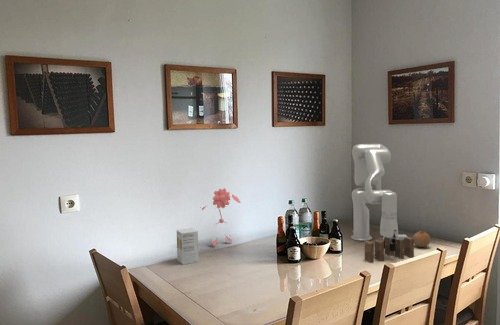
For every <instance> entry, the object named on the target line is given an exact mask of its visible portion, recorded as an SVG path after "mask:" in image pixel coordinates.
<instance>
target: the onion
mask: <svg viewBox="0 0 500 325" xmlns="http://www.w3.org/2000/svg"><path fill="white" fill-rule="evenodd" d="M412 238H413V239H414V246H416V247H418V248H424V247H427V246H429V245H430V244H431V236H430V235H429V234H428V233H427V232H425V231H424V230H419V231H417V232H415V233H414V234H413V236H412Z"/></svg>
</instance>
